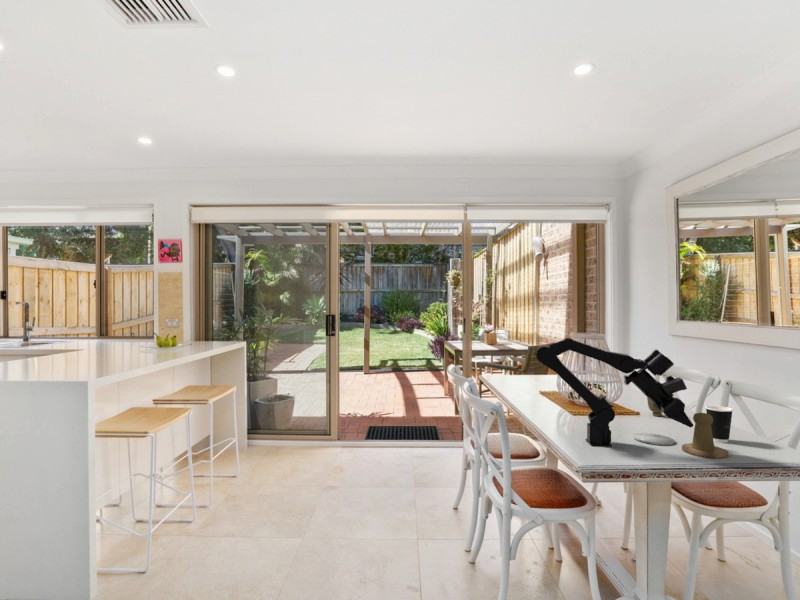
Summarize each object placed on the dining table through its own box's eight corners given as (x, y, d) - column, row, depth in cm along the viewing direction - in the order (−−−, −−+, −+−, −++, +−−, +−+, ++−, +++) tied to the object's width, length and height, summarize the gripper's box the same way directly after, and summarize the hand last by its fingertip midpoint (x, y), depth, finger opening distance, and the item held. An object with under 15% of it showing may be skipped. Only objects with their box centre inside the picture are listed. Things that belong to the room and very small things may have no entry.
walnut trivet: (694, 457, 137) (694, 454, 137) (674, 445, 149) (674, 442, 149) (737, 459, 136) (737, 455, 136) (714, 447, 147) (713, 443, 147)
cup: (643, 414, 193) (642, 395, 193) (656, 413, 195) (656, 394, 195) (657, 418, 185) (657, 398, 186) (671, 417, 188) (671, 397, 188)
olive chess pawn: (700, 444, 146) (700, 410, 147) (719, 450, 141) (719, 414, 141) (687, 446, 144) (686, 412, 145) (705, 452, 139) (705, 416, 139)
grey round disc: (679, 446, 148) (679, 443, 148) (638, 442, 151) (638, 439, 151) (667, 438, 159) (667, 435, 159) (630, 434, 163) (630, 431, 163)
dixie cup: (735, 445, 149) (735, 411, 150) (706, 441, 153) (706, 409, 153) (732, 439, 156) (731, 407, 156) (704, 436, 160) (703, 404, 160)
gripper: (676, 372, 137) (719, 412, 133) (661, 365, 154) (698, 400, 151) (647, 397, 139) (688, 437, 135) (635, 387, 157) (671, 422, 153)
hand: (687, 422), depth 144 cm, fingers open, 9 cm apart
